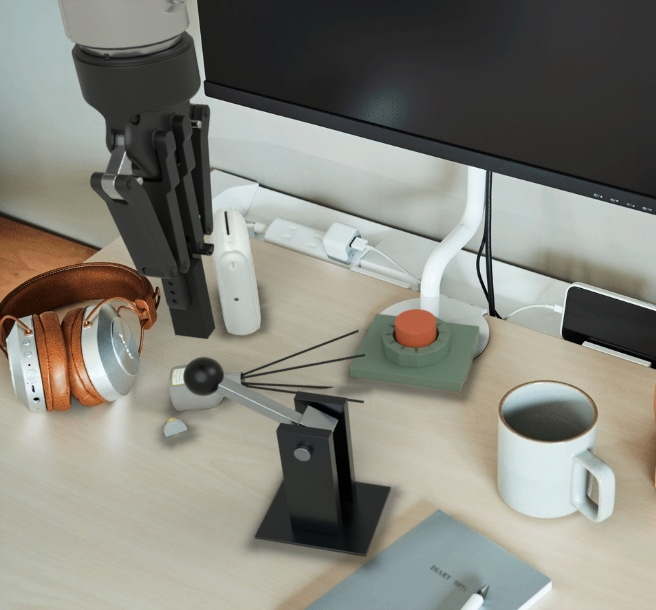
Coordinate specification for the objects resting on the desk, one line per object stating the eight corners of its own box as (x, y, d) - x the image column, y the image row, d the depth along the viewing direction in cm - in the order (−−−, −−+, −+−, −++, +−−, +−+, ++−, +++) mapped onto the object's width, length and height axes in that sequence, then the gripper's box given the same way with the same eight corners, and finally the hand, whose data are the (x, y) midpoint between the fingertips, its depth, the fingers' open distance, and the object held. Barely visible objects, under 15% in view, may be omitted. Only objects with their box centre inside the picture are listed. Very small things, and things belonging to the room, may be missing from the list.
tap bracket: (256, 545, 80) (235, 438, 73) (288, 479, 87) (272, 375, 79) (366, 564, 79) (356, 456, 71) (391, 495, 85) (384, 390, 78)
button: (390, 346, 98) (389, 330, 97) (401, 321, 101) (400, 306, 100) (431, 351, 97) (430, 335, 96) (440, 326, 101) (440, 311, 99)
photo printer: (264, 334, 105) (250, 241, 98) (226, 340, 104) (208, 247, 97) (256, 285, 113) (242, 196, 106) (220, 290, 112) (204, 200, 105)
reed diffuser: (163, 339, 94) (359, 315, 94) (185, 370, 99) (369, 347, 100) (156, 432, 88) (364, 406, 89) (180, 458, 94) (374, 434, 95)
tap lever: (172, 392, 75) (181, 367, 73) (189, 368, 77) (199, 342, 75) (317, 462, 76) (329, 438, 74) (329, 435, 79) (342, 412, 77)
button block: (350, 384, 98) (348, 354, 96) (377, 328, 106) (375, 300, 104) (461, 399, 96) (460, 369, 94) (479, 341, 104) (479, 313, 102)
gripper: (136, 79, 53) (204, 390, 67) (228, 9, 64) (271, 291, 77) (18, 69, 54) (109, 377, 68) (128, 2, 65) (187, 281, 78)
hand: (195, 331), depth 73 cm, fingers closed
